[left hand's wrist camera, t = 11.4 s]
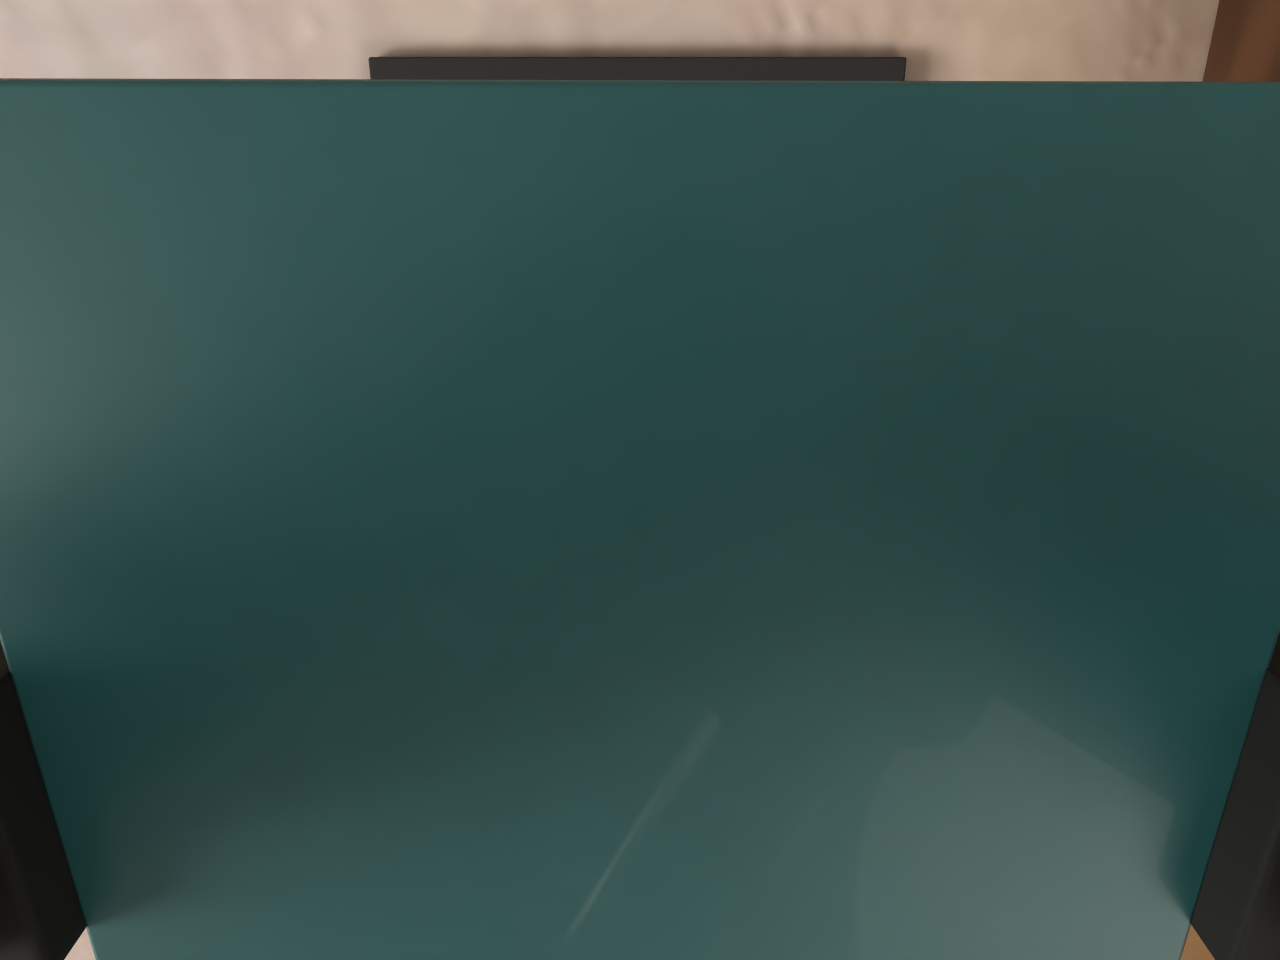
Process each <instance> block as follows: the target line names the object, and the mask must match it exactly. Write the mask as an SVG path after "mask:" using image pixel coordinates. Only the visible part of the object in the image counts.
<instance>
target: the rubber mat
mask: <svg viewBox="0 0 1280 960" xmlns="http://www.w3.org/2000/svg"><path fill="white" fill-rule="evenodd" d="M369 67H370V77H371V80H716V81H904V78H905V68H906V58H905V57H370V58H369Z"/></svg>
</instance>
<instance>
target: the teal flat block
mask: <svg viewBox="0 0 1280 960" xmlns="http://www.w3.org/2000/svg"><path fill="white" fill-rule="evenodd" d="M1279 632H1280V82H1076V81H716V80H356V79H0V640H1V644H2V647H3V650H4V654H5V657H6V660H7V664H8V667H9V670H10V674H11V677H12V680H13V684H14V687H15V691H16V694H17V697H18V701H19V704H20V707H21V711H22V714H23V717H24V721H25V724H26V727H27V731H28V734H29V737H30V741H31V744H32V747H33V751H34V754H35V757H36V761H37V764H38V767H39V771H40V774H41V777H42V781H43V784H44V787H45V791H46V794H47V797H48V800H49V804H50V807H51V810H52V814H53V817H54V820H55V824H56V827H57V830H58V834H59V837H60V840H61V844H62V847H63V850H64V854H65V857H66V860H67V864H68V867H69V870H70V874H71V877H72V880H73V884H74V887H75V890H76V893H77V897H78V900H79V903H80V907H81V910H82V913H83V917H84V920H85V923H86V928H87V931H88V935H89V938H90V941H91V945H92V948H93V951H94V955H95V958H96V960H1180V958H1181V955H1182V952H1183V948H1184V945H1185V942H1186V939H1187V935H1188V932H1189V929H1190V925H1191V919H1192V916H1193V913H1194V909H1195V906H1196V903H1197V899H1198V896H1199V893H1200V889H1201V886H1202V883H1203V879H1204V876H1205V873H1206V869H1207V866H1208V863H1209V859H1210V856H1211V853H1212V849H1213V846H1214V843H1215V839H1216V836H1217V833H1218V829H1219V826H1220V823H1221V820H1222V816H1223V813H1224V810H1225V806H1226V803H1227V800H1228V796H1229V793H1230V790H1231V786H1232V783H1233V780H1234V776H1235V773H1236V770H1237V766H1238V763H1239V760H1240V756H1241V753H1242V750H1243V746H1244V743H1245V740H1246V736H1247V733H1248V730H1249V726H1250V723H1251V720H1252V716H1253V713H1254V710H1255V707H1256V703H1257V700H1258V697H1259V693H1260V690H1261V687H1262V683H1263V680H1264V677H1265V673H1266V670H1267V668H1269V665H1270V662H1271V659H1272V655H1273V652H1274V649H1275V645H1276V642H1277V639H1278V635H1279Z"/></svg>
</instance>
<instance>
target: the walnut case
mask: <svg viewBox="0 0 1280 960" xmlns="http://www.w3.org/2000/svg"><path fill="white" fill-rule="evenodd" d="M1203 82H1280V0H1220V2H1219V7H1218V12H1217V16H1216V21H1215V26H1214V31H1213V35H1212V40H1211V45H1210V50H1209V54H1208V59H1207V64H1206V69H1205V73H1204V78H1203Z"/></svg>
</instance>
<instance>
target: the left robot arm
mask: <svg viewBox="0 0 1280 960" xmlns="http://www.w3.org/2000/svg"><path fill="white" fill-rule="evenodd" d="M1191 925H1192V926H1193V928H1194V929H1195V931H1196V932H1197V933H1198V935H1199V936H1200V938H1201V939H1202V941H1203V942H1204V944H1205V945H1206V947H1207V948H1208V950H1209V951H1210V953H1211V954H1212V955H1213V957H1214V958H1215V960H1280V632H1279V635H1278V639H1277V642H1276V645H1275V649H1274V652H1273V655H1272V659H1271V662H1270V665H1269V668H1267V670H1266V673H1265V677H1264V680H1263V683H1262V687H1261V690H1260V693H1259V697H1258V700H1257V703H1256V707H1255V710H1254V713H1253V716H1252V720H1251V723H1250V726H1249V730H1248V733H1247V736H1246V740H1245V743H1244V746H1243V750H1242V753H1241V756H1240V760H1239V763H1238V766H1237V770H1236V773H1235V776H1234V780H1233V783H1232V786H1231V790H1230V793H1229V796H1228V800H1227V803H1226V806H1225V810H1224V813H1223V816H1222V820H1221V823H1220V826H1219V829H1218V833H1217V836H1216V839H1215V843H1214V846H1213V849H1212V853H1211V856H1210V859H1209V863H1208V866H1207V869H1206V873H1205V876H1204V879H1203V883H1202V886H1201V889H1200V893H1199V896H1198V899H1197V903H1196V906H1195V909H1194V913H1193V916H1192V919H1191ZM85 928H86V923H85V920H84V917H83V913H82V910H81V907H80V903H79V900H78V897H77V893H76V890H75V887H74V884H73V880H72V877H71V874H70V870H69V867H68V864H67V860H66V857H65V854H64V850H63V847H62V844H61V840H60V837H59V834H58V830H57V827H56V824H55V820H54V817H53V814H52V810H51V807H50V804H49V800H48V797H47V794H46V791H45V787H44V784H43V781H42V777H41V774H40V771H39V767H38V764H37V761H36V757H35V754H34V751H33V747H32V744H31V741H30V737H29V734H28V731H27V727H26V724H25V721H24V717H23V714H22V711H21V707H20V704H19V701H18V697H17V694H16V691H15V687H14V684H13V680H12V677H11V674H10V670H9V667H8V664H7V660H6V657H5V654H4V650H3V647H2V644H1V640H0V960H64V959H65V957H66V956H67V955H68V953H69V952H70V950H71V949H72V947H73V946H74V944H75V943H76V941H77V940H78V938H79V937H80V935H81V934H82V933H83V931H84V930H85Z"/></svg>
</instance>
